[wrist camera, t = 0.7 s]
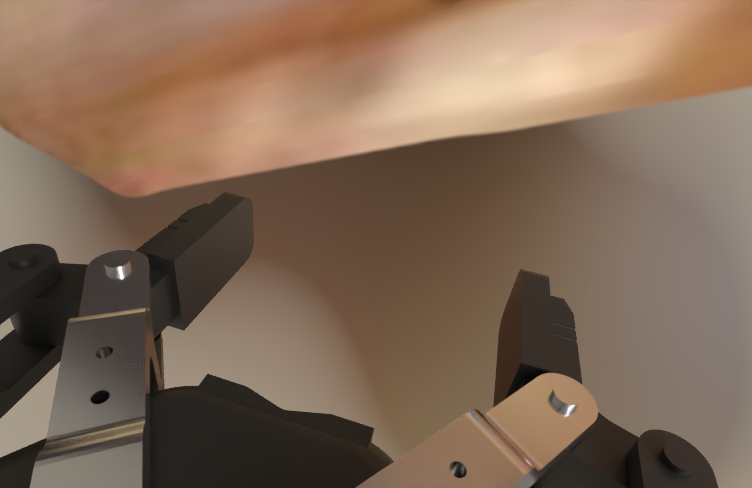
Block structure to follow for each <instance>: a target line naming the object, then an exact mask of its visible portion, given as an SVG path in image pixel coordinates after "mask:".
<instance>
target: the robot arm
mask: <svg viewBox="0 0 752 488" xmlns="http://www.w3.org/2000/svg"><path fill="white" fill-rule="evenodd" d="M253 243H254V236H253V204H252V200H251V199H250V198H247V197H244V196H240V195H236V194H232V193H228V192H224V193H223V194H221V195H220V196H219V197H218V198H216V199H215V200H214V201H213V202H211V203H210V204H206V203H205V204H202V205H200V206H197V207H194V208H192V209H189V210H188V211H187V212H185V213H184V214H183V215H181V216H180V217H179V218H178V220H175V221H173V222H172V223H171V224H170V225H168V228H164V229H163V230H162V231H160V232H159V233H158V234H156V235H155V236H154V237H153V238H151V239H150V240H149V241H147V242H146V243H145V244H144V245H142V246H141V247H140V248H138V249H137V250H136V251H133V250H117V251H111V252H107V253H104V254H102V255H100V256H98V257H96V258H95V259H93V260H92V261H91V262H90V263H89V264H88V265H85V264H65V263H59V260H58V257H57V254H56V252H55V250H54V249H53V248H51V247H49V246H46V245H42V244H25V245H20V246H15V247H12V248H9V249H6V250H4V251H2V252H0V324H1V323H3V322H4V321H5V320H7V319H8V318H10V319H11V321H12V324H13V326H14V330H13V331H12V332H10V333H9V334H8V335H6V336H5V337H4V338H3V339H1V340H0V418H1V417H2V416H3V415H4V414H6V413H7V412H8V411H9V410H10V409H11V408H12V407H13V406H14V405H15V404H16V403H17V402H18V401H19V400H20V399H21V398H22V397H23V396H24V395H25V394H26V393H27V392H28V391H29V390H30V389H32V388H33V387H34V386H35V385H36V384H37V383H38V382H39V381H40V380H41V379H42V378H43V377H44V376H45V375H46V374H47V373H48V372H49V371H50V370H51V369H52V368H53V367H54V366H55V365H57V363H59V362H60V367H59V372H58V378H57V383H56V390H55V395H54V400H53V406H52V411H51V417H50V423H49V428H48V433H47V438H45V439H43V440H41V441H38V442H36V443H34V444H31V445H29V446H27V447H24V448H22V449H20V450H17V451H15V452H13V453H10V454H8V455H6V456H3V457H1V458H0V488H718V485H717V482H716V478H715V475H714V472H713V470H712V468H711V466H710V464H709V463H708V461H707V460H706V459H705V457H704V456H703V455H702V454H701V453H700V452H699V451H698V450H697V449H696V448H695V447H694V446H693V445H691V444H690V443H689V442H687V441H686V440H684V439H682V438H681V437H679V436H677V435H675V434H672V433H670V432H667V431H663V430H649V431H646V432H644V433H643V434H642V435H641V436H640V437H637V436H635V435H633V434H632V433H630V432H628V431H626V430H624V429H623V428H621V427H619V426H618V425H616V424H614V423H612V422H611V421H609V420H608V419H606V418H605V417H604V416H602V415H601V414H600V413H599V412H598V407H597V404H596V401H595V399H594V398H593V396H592V395H591V393H590V392H589V391H588V390H587V389H586V388H585V387H584V386H583V385H582V378H581V370H580V362H579V354H578V346H577V343H576V339H577V338H576V331H575V323H574V315H573V312H572V311H571V309H570V308H569V306H568V305H567V303H566V302H565V300H564V299H561V298H557V297H554V296H550V286H549V277H548V276H546V275H542V274H538V273H534V272H530V271H526V270H522V269H521V270H520V271H519V273H518V275H517V278H516V281H515V283H514V286H513V288H512V291H511V294H510V296H509V299H508V302H507V304H506V307H505V309H504V312H503V316H502V319H501V323H500V329H499V338H498V352H497V365H496V379H495V392H494V405H493V408H492V409H491V410H489V411H488V412H486V413H484V414H481V413H480V412H479V411H478V410H476V409H474V410H471V411H469V412H467V413H465V414H464V415H463V416H461V417H459V418H458V419H456V420H455V421H454V422H452V423H451V424H449V425H448V426H446V427H445V428H443V429H442V430H440V431H439V432H437V433H436V434H434V435H433V436H432V437H430V438H428V439H427V440H425V441H424V442H422V443H421V444H420V445H418V446H417V447H415V448H414V449H412V450H410V451H409V452H407V453H406V454H405V455H403V456H402V457H400V458H399V459H397V460H396V461H393V460H392V459H391V458H390V457H389V456H388V455H387V454H386V453H385V452H384V451H382V450H381V449H380V448H379V447H377V446H376V445H374V444H373V443H371V440H372V436H373V431H374V428H372V427H369V426H365V425H363V424H360V423H357V422H353V421H350V420H347V419H344V418H341V417H338V416H335V415H332V414H322V413H311V412H299V411H288V410H283V409H281V408H279V407H278V406H276V405H274V404H273V403H271V402H270V401H268V400H267V399H265V398H264V397H262V396H260V395H259V394H257V393H256V392H254V391H253V390H251V389H249V388H248V387H246V386H243V385H240V384H237V383H234V382H231V381H228V380H225V379H222V378H219V377H216V376H213V375H210V374H207V375H206V377H205V378H204V379H203V381H202V382H201V383H200V385H199V386H182V387H174V388H169V389H165V386H164V385H165V384H164V361H163V359H164V358H163V339H162V331H163V329H165V328H166V327H167V326H172V327H175V328H178V329H181V330H185V329H186V328H187V326H188V325H189V324H190V323H191V322H192V321H193V320H194V319H195V318H196V317H197V315H198V314H199V313H200V312H201V311H202V310H203V309H204V307H205V306H206V305H207V304H208V303H209V302H210V301H211V300H212V299H213V298H214V297H215V295H216V294H217V293H218V292H219V291H220V290H221V289H222V288H223V287H224V286H225V284H226V283H227V282H228V281H229V280H230V279H231V278H232V277H233V276H234V274H235V273H236V272H237V271H238V270H239V269H240V268H241V267H242V266H243V265H244V263H245V262H246V261H247V260H248V258H249V257H250V254H251V252H252V249H253Z"/></svg>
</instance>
